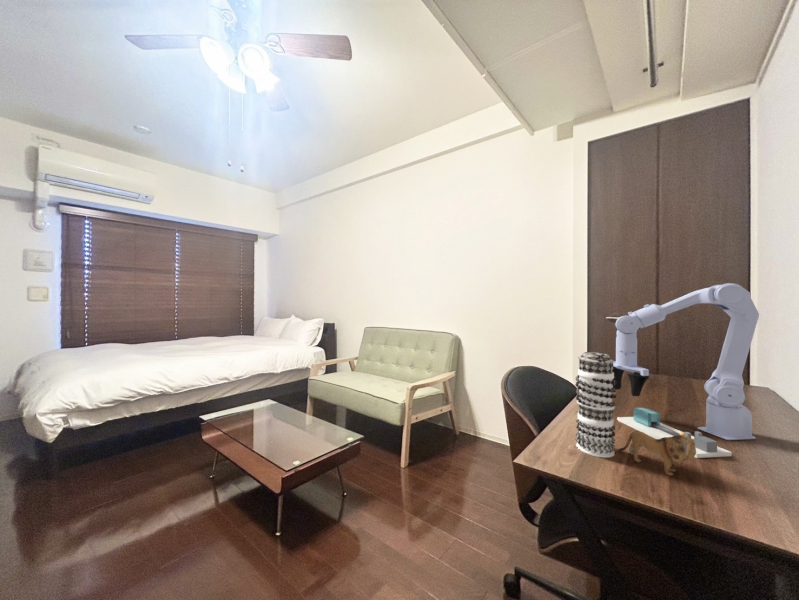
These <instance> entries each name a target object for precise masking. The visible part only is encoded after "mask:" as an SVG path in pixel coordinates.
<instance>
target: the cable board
mask: <svg viewBox="0 0 799 600" xmlns="http://www.w3.org/2000/svg"><path fill="white" fill-rule="evenodd" d="M617 420H618V423H622V424H624V425H625V426H628V427H630V428H632V429H634V430H635V431H640V432H643V433H645V434H647V435H648V436H650V437H652V438H655V439H661V438H664V437H672V436H676V435H686V436H688V437H690V438H691V439H692V440H693V441H695V448H696V455H695V456H694V458H696V459H703V458H704V459H705V458H722V457H732V456H733V455H732V454H733V452H732V451H730V450H727V449H726V448H725V449H724V448H722V447H720V446H718V440H717V441H716V440H714V439H712V438H710V437H707V436H705V435H703V432H700V431H697V430H696V431H694V436H693V435H692V433H691V432H689V431H682V430H679V429H676V428H674V427H672V426H670V425H667V424H664V423H662V422H660V425H658V424H656V423H654V422H651V426H647V425H644V424H642V423H640V422H638V421H635V420H634V415H633V416H621V417H620V416H617V417H616V421H617Z"/></svg>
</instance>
